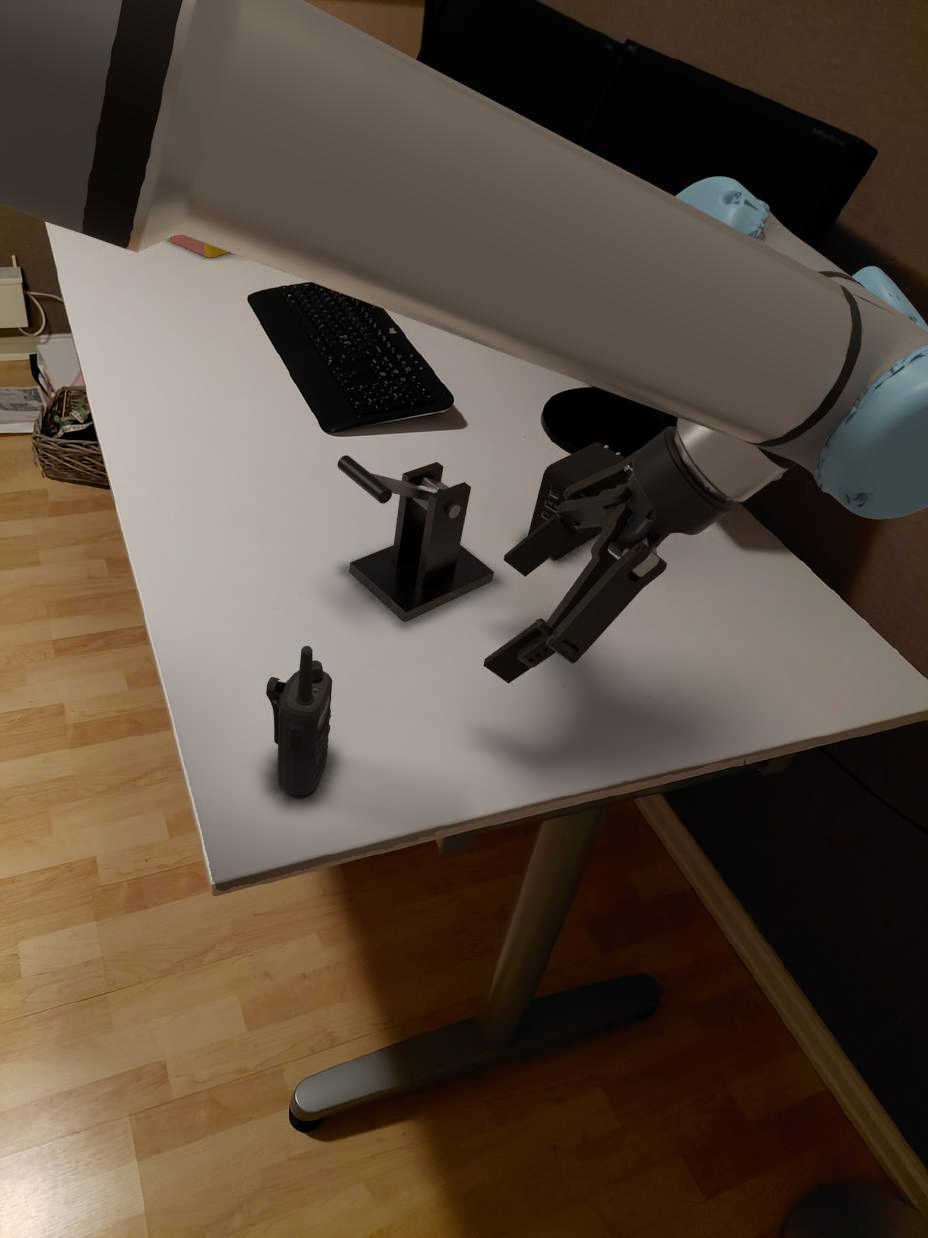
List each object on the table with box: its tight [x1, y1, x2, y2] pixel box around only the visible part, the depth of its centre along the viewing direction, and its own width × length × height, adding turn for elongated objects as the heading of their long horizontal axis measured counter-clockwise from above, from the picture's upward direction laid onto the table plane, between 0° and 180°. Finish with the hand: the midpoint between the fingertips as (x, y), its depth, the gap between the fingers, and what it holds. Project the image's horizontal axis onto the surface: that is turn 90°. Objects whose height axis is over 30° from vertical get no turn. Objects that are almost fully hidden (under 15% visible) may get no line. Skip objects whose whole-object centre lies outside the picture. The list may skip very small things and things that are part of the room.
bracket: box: [348, 461, 495, 622], centre depth 83 cm, size 12×9×12 cm
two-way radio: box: [265, 645, 333, 796], centre depth 62 cm, size 6×4×15 cm
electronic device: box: [527, 441, 627, 560], centre depth 93 cm, size 4×10×10 cm, turn 137°
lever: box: [336, 454, 450, 510], centre depth 77 cm, size 12×6×2 cm, turn 132°
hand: (505, 615), depth 72 cm, fingers open, 13 cm apart
